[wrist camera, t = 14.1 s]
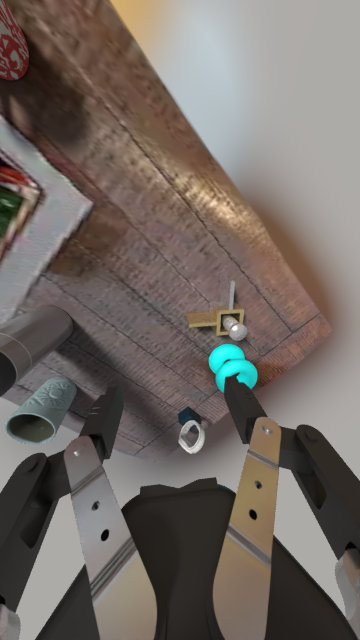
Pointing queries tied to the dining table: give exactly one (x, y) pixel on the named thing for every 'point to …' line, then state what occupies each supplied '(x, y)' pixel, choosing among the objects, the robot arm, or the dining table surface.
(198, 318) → the bracket
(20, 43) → the mug
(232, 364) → the donuts
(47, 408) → the embossed green planter pot
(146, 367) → the dining table surface
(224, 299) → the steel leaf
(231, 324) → the hinge pin
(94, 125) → the dining table surface
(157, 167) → the dining table surface
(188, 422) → the watch
